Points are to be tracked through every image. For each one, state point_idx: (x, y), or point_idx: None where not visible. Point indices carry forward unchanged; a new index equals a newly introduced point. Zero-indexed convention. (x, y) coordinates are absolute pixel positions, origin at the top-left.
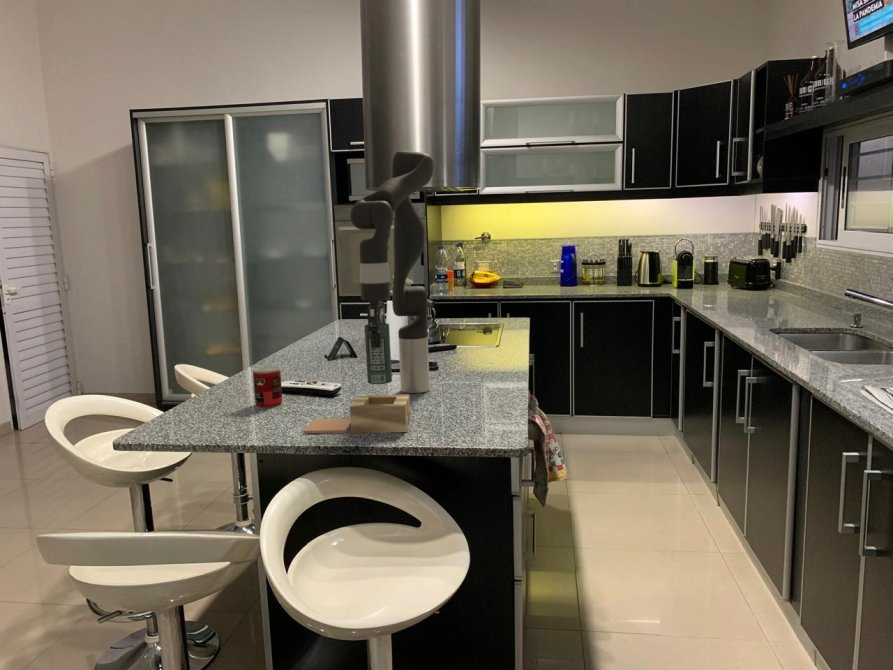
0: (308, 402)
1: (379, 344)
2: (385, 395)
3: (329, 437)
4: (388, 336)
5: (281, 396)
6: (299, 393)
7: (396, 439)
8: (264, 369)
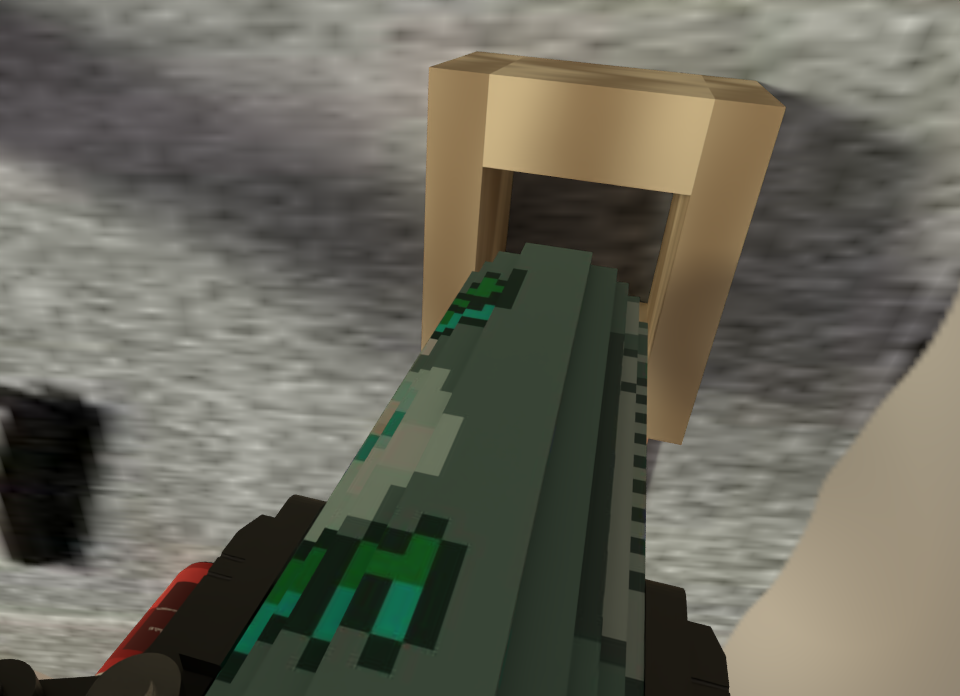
0: (180, 489)
1: (686, 622)
2: (434, 242)
3: (709, 447)
4: (517, 576)
5: (196, 584)
6: (69, 508)
7: (883, 141)
8: None
